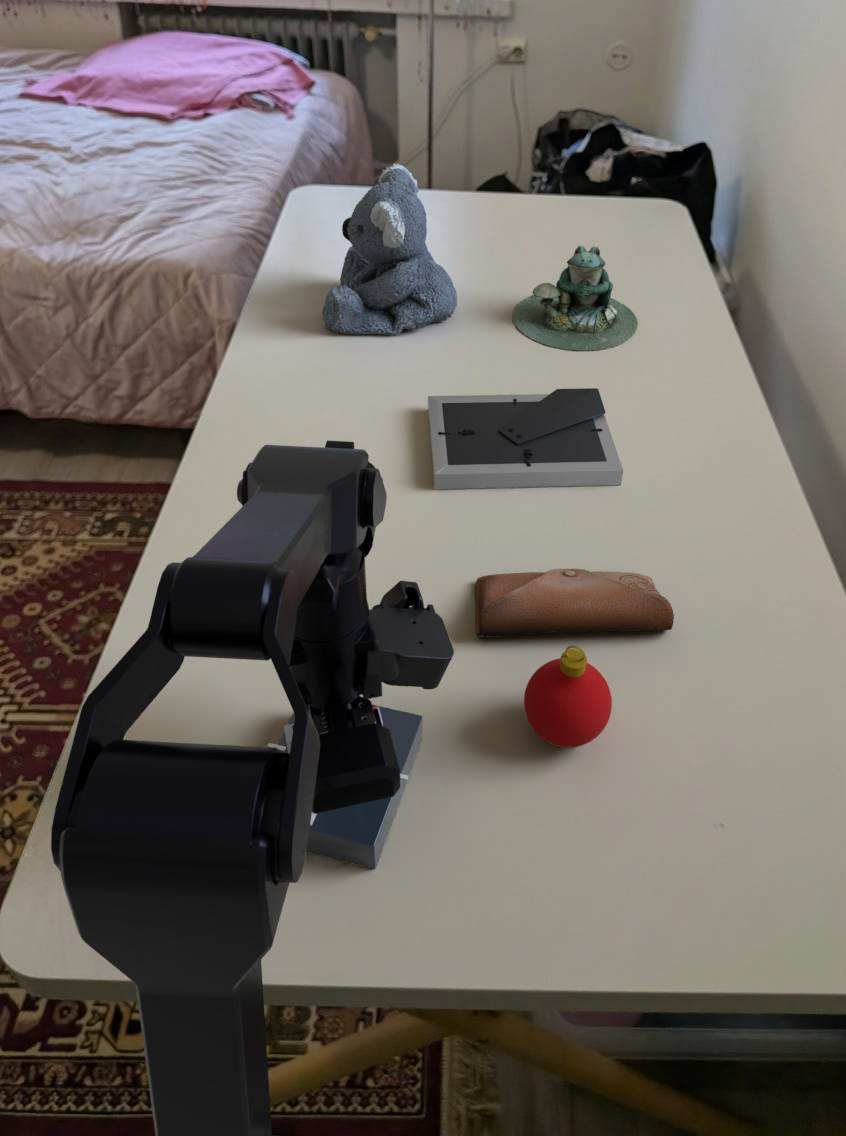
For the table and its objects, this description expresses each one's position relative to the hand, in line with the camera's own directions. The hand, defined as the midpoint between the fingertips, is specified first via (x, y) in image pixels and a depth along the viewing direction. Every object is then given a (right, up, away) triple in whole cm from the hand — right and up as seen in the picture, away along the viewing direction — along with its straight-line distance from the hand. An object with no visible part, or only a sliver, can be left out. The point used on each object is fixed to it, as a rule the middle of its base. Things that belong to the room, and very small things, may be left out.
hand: (336, 757), depth 72 cm
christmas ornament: (+18, 0, +7) cm, 19 cm away
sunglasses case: (+19, +9, +18) cm, 28 cm away
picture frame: (+15, +25, +39) cm, 49 cm away
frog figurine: (+24, +45, +64) cm, 82 cm away
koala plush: (-1, +46, +64) cm, 79 cm away
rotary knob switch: (0, -3, +2) cm, 4 cm away
